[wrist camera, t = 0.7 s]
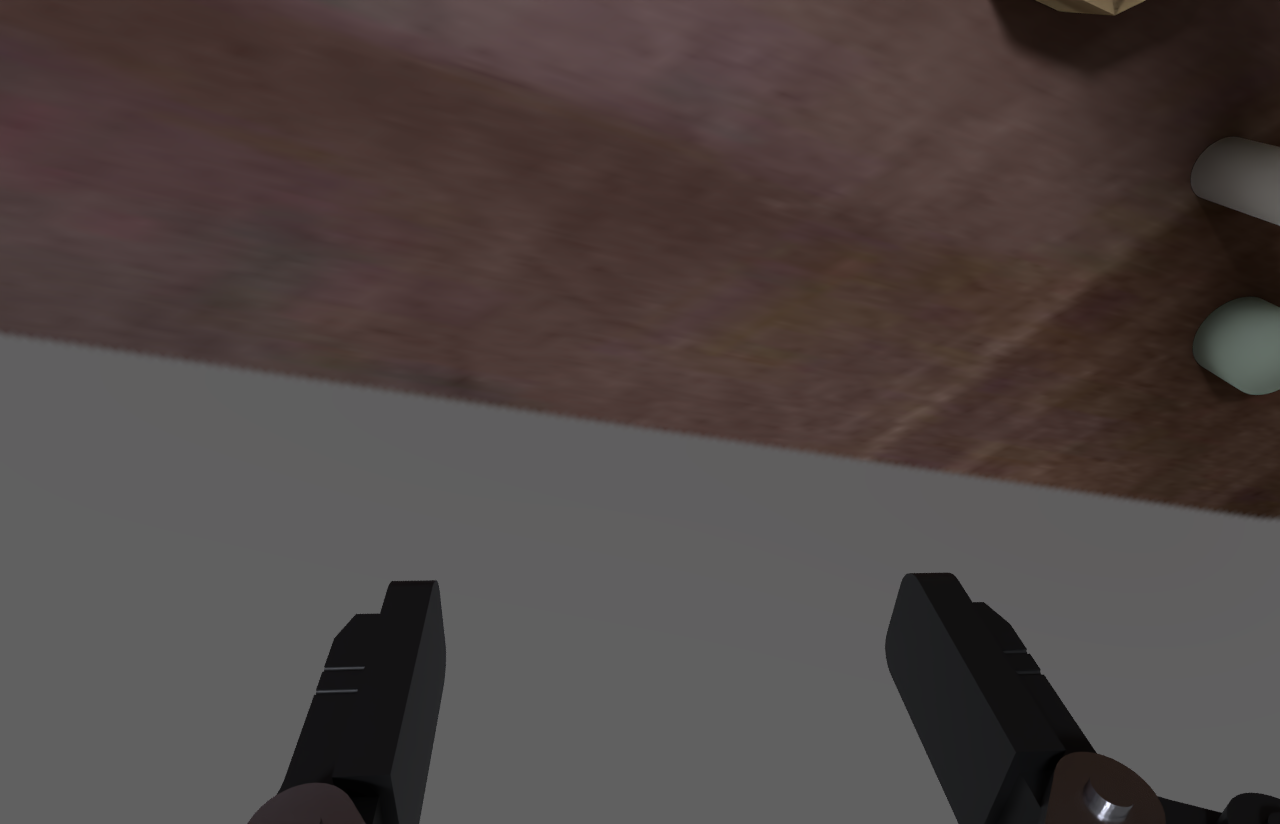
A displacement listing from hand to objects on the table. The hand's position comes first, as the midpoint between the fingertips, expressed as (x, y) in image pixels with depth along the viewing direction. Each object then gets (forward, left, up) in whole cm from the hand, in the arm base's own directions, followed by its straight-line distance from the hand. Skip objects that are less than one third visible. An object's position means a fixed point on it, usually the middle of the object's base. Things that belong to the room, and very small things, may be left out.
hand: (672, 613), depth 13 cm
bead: (-4, +35, -27) cm, 44 cm away
